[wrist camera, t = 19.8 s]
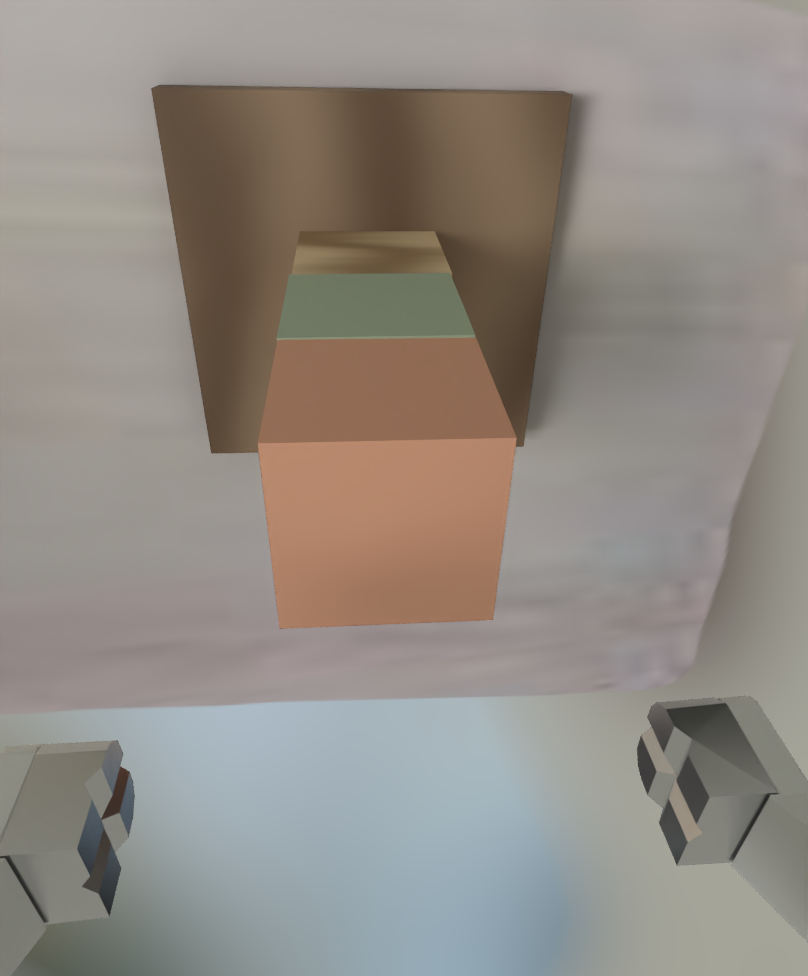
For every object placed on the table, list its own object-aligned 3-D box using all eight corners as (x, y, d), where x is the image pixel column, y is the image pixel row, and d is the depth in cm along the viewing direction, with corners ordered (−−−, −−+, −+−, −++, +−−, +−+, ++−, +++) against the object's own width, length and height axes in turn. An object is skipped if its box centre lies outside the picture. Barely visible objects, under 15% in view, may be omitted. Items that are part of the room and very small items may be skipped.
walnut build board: (215, 439, 31) (191, 522, 26) (159, 85, 23) (109, 106, 18) (517, 433, 32) (550, 511, 27) (562, 91, 24) (620, 113, 19)
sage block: (300, 416, 24) (292, 500, 20) (289, 274, 21) (276, 337, 17) (442, 413, 24) (462, 495, 20) (449, 273, 22) (475, 334, 17)
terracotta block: (292, 501, 20) (279, 628, 16) (277, 339, 17) (257, 443, 13) (462, 497, 20) (492, 619, 16) (475, 337, 18) (516, 437, 13)
